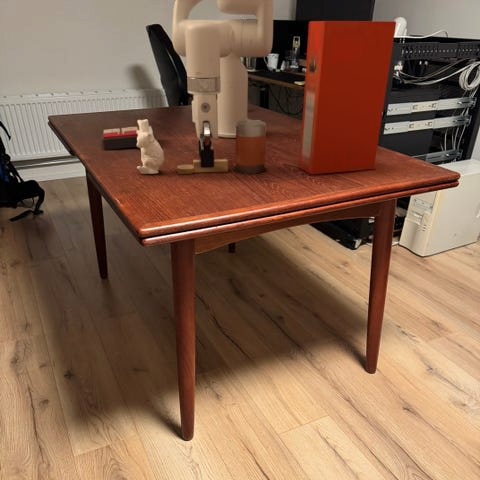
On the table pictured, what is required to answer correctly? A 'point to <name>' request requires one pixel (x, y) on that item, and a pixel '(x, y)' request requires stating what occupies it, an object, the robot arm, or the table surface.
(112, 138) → the calculator
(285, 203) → the table surface
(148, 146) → the white squirrel figurine
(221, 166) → the wooden spoon
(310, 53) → the file binder
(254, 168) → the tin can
